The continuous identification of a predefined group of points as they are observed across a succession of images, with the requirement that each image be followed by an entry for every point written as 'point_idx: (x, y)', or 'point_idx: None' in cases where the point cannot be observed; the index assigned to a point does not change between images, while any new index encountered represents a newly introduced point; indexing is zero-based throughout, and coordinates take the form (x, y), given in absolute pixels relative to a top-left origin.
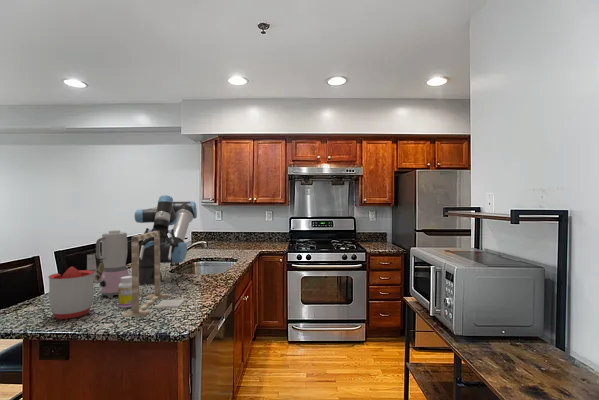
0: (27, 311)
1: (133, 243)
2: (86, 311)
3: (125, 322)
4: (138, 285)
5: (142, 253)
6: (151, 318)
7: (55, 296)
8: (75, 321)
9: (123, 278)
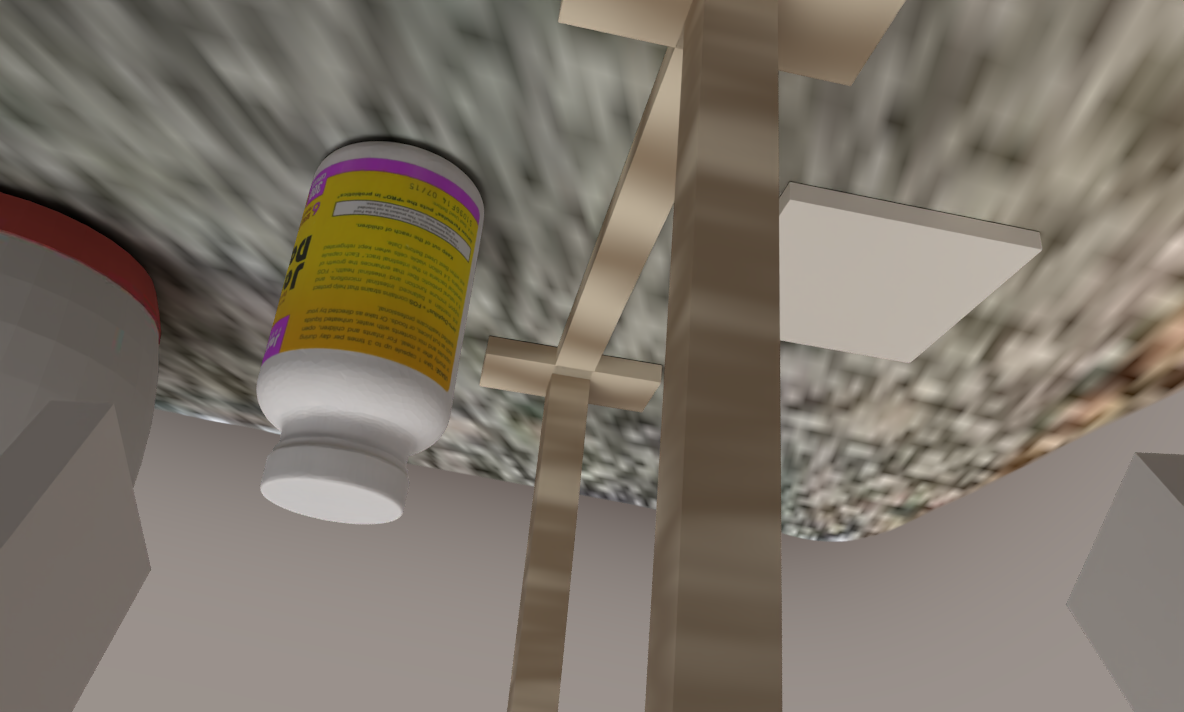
0: None
1: None
2: (158, 315)
3: (539, 426)
4: (567, 591)
5: (28, 643)
6: None
7: None
8: (188, 349)
9: (326, 518)
